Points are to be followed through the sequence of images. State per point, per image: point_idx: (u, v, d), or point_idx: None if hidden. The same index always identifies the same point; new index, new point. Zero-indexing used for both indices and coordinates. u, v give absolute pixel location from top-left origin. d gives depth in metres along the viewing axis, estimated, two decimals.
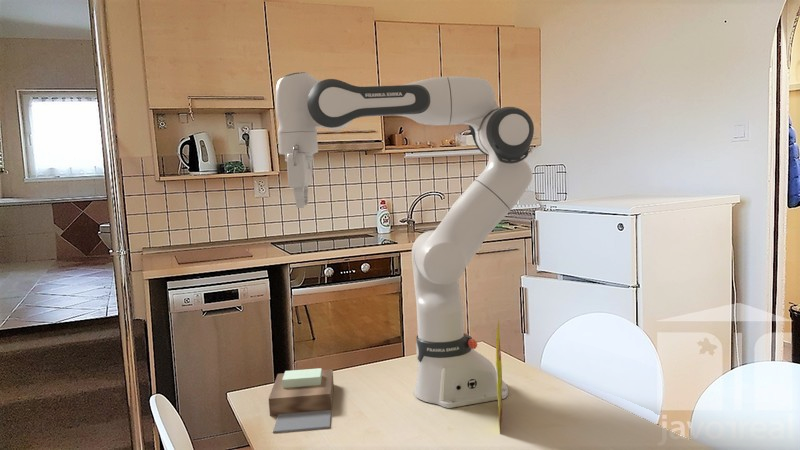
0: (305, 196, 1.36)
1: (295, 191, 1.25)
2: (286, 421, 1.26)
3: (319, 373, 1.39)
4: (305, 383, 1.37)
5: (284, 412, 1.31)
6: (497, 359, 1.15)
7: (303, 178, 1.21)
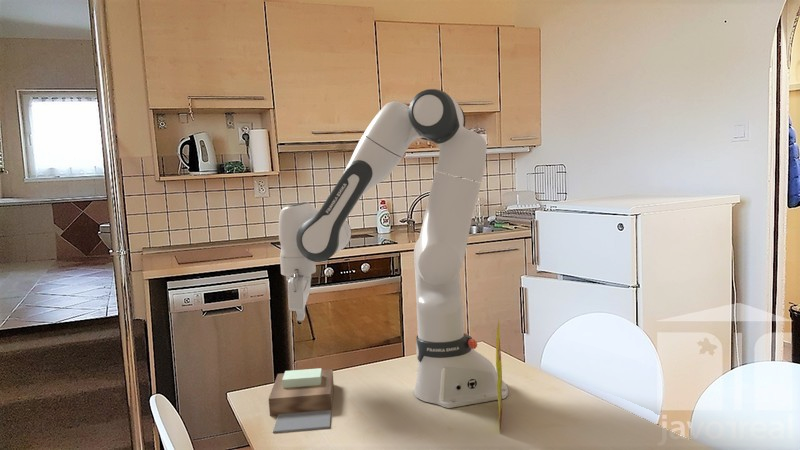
0: None
1: None
2: (286, 421, 1.26)
3: (319, 373, 1.39)
4: (305, 383, 1.37)
5: (284, 412, 1.31)
6: (497, 359, 1.15)
7: (302, 303, 1.36)
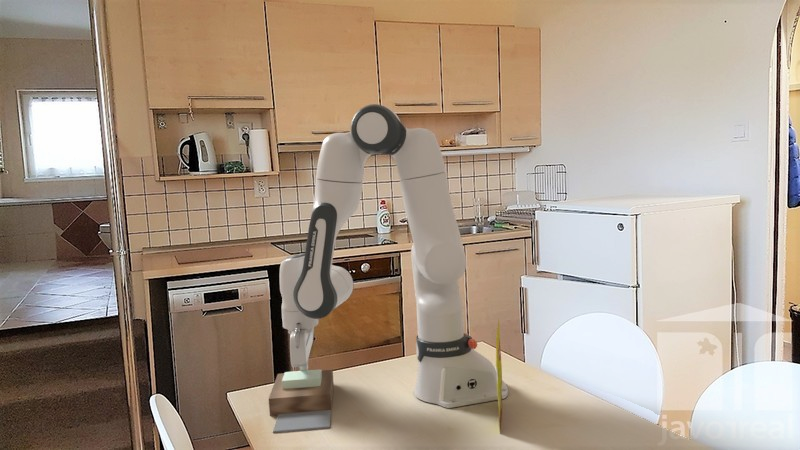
0: None
1: None
2: (286, 421, 1.26)
3: (319, 374, 1.38)
4: (305, 384, 1.36)
5: (284, 412, 1.31)
6: (497, 359, 1.15)
7: (304, 359, 1.33)
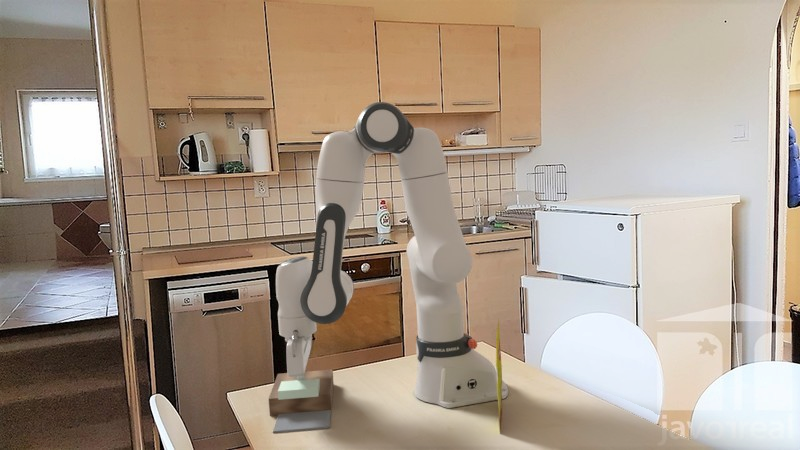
0: None
1: None
2: (286, 421, 1.26)
3: (317, 384, 1.32)
4: (302, 395, 1.30)
5: (284, 412, 1.31)
6: (497, 359, 1.15)
7: (302, 369, 1.26)
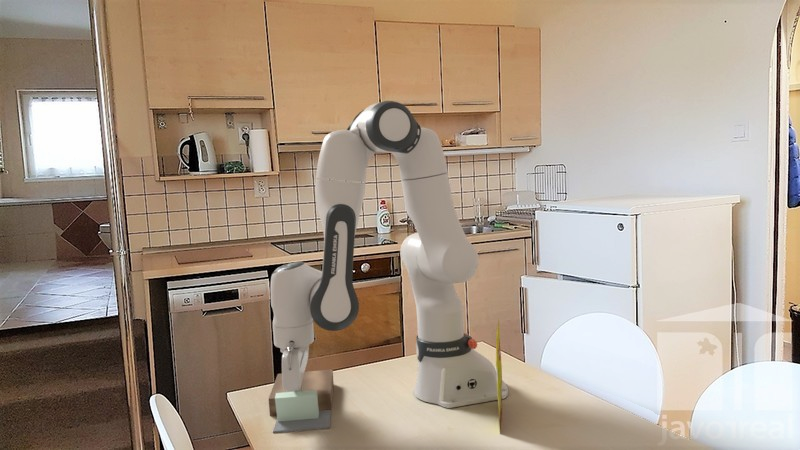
0: None
1: None
2: (286, 421, 1.26)
3: (316, 409, 1.26)
4: None
5: None
6: (497, 359, 1.15)
7: (298, 382, 1.18)
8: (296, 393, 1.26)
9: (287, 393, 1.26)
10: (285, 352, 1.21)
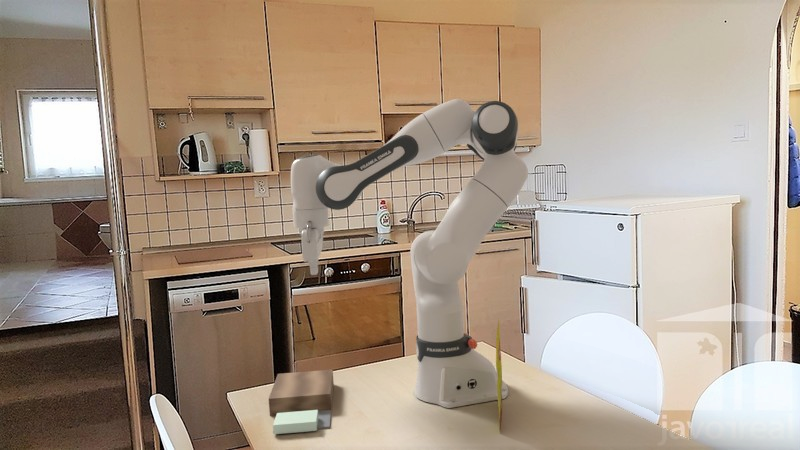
0: None
1: None
2: None
3: None
4: None
5: None
6: (497, 359, 1.15)
7: (316, 254, 1.35)
8: (294, 427, 1.20)
9: (285, 426, 1.20)
10: (304, 229, 1.38)
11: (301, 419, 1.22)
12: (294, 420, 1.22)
